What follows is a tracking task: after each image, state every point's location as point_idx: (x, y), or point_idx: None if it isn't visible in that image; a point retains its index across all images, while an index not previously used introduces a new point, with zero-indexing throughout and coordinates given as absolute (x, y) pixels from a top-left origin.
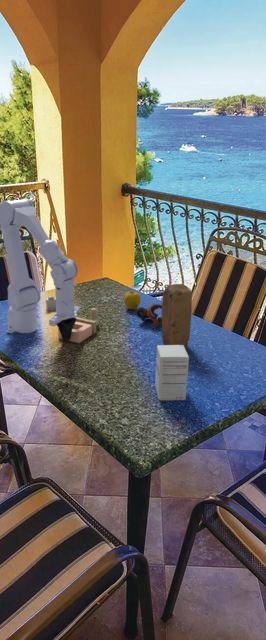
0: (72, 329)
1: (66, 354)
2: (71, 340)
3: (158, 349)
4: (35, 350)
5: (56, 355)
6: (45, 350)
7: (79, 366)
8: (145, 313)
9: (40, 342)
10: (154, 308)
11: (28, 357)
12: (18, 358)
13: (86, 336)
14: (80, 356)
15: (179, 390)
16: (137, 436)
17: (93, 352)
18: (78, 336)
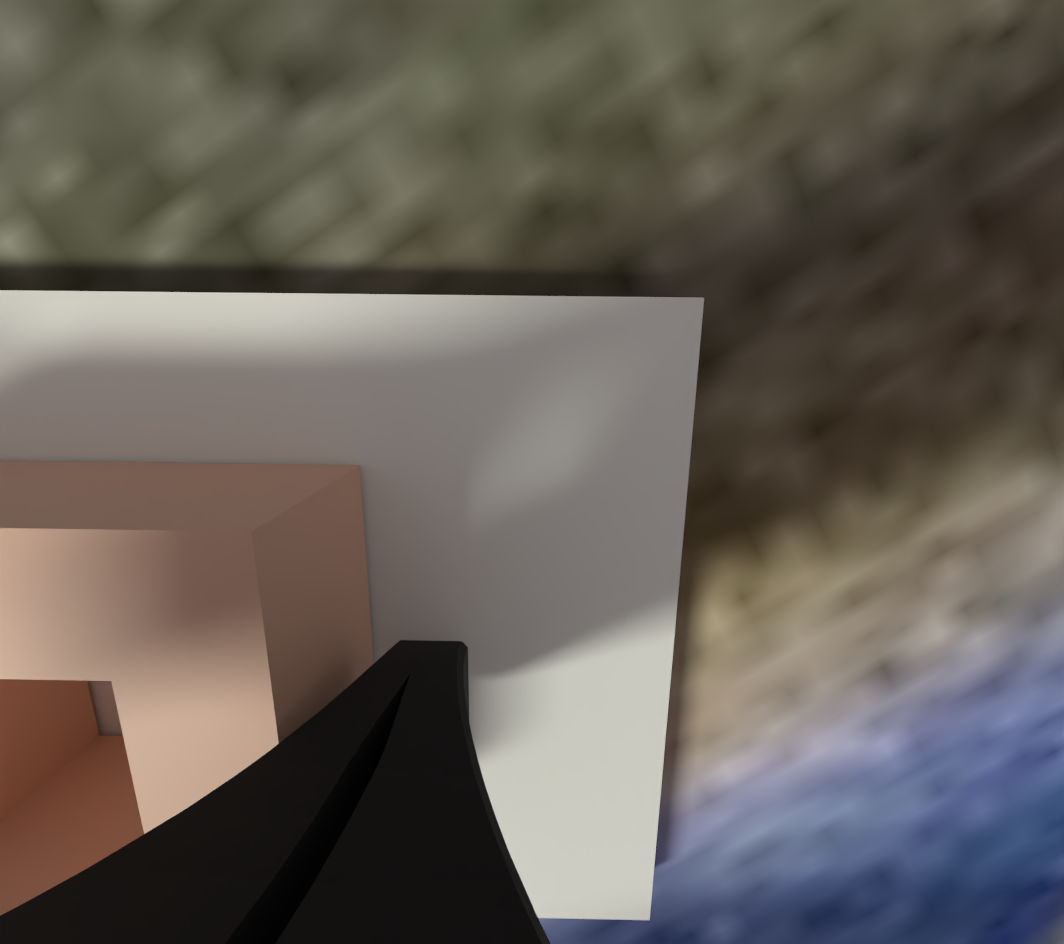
0: (170, 777)
1: (716, 463)
2: (365, 615)
3: None
4: (773, 851)
5: (803, 566)
6: (722, 761)
7: (1048, 10)
8: None
9: (547, 918)
10: None
11: (984, 814)
12: (1045, 884)
13: (87, 468)
14: (688, 225)
15: None
16: None
17: (446, 101)
18: (301, 514)
